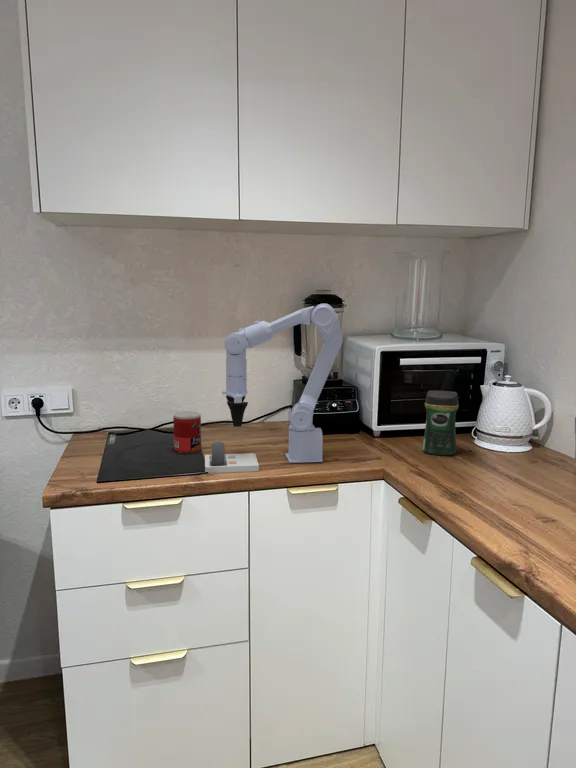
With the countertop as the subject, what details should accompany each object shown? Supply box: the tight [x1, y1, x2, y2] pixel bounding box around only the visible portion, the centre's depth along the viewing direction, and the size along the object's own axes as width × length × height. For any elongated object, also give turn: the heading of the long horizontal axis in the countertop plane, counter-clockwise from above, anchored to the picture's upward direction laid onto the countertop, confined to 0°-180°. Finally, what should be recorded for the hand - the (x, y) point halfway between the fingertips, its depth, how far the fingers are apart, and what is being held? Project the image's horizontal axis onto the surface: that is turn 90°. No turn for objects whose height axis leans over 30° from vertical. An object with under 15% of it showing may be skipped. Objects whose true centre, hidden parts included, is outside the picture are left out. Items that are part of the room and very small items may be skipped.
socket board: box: [204, 452, 260, 474], centre depth 155 cm, size 14×11×2 cm
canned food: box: [173, 410, 202, 454], centre depth 168 cm, size 8×8×11 cm
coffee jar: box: [422, 390, 459, 456], centre depth 169 cm, size 10×8×19 cm
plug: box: [211, 441, 226, 466], centre depth 152 cm, size 3×3×7 cm
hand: (236, 423), depth 162 cm, fingers open, 7 cm apart
